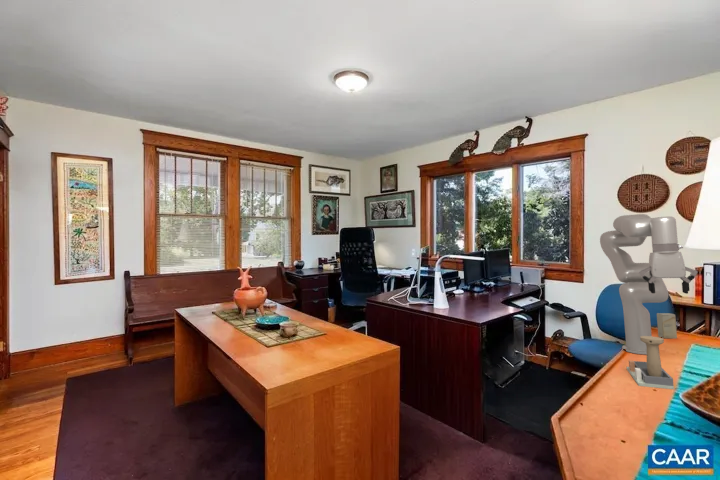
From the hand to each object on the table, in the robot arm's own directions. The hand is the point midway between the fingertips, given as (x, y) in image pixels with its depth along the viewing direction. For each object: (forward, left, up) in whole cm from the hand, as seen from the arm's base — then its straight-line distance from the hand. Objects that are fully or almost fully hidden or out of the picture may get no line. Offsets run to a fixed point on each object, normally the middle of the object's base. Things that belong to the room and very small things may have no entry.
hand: (668, 293), depth 132 cm
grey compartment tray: (+10, -10, -30) cm, 34 cm away
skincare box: (-58, +13, -31) cm, 67 cm away
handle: (+14, -9, -30) cm, 34 cm away
